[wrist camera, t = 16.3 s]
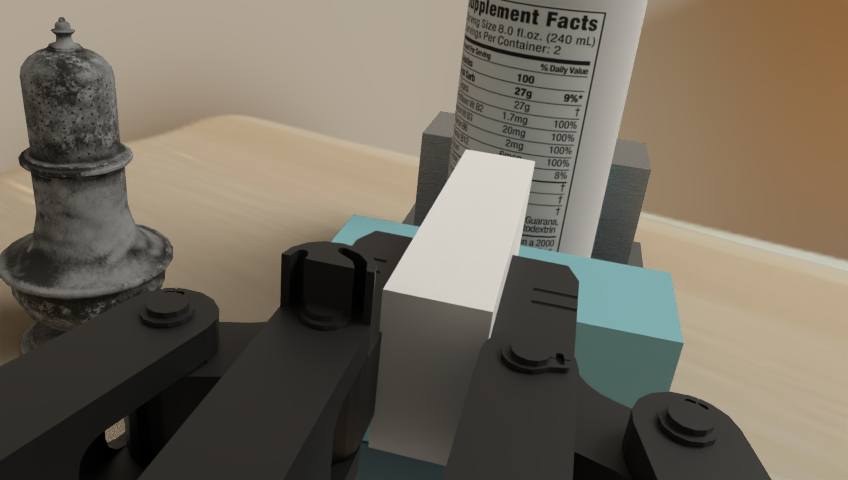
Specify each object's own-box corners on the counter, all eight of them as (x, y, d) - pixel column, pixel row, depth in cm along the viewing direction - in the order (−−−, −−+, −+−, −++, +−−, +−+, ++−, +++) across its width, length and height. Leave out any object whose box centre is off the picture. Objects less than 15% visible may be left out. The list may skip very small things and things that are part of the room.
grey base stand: (633, 268, 38) (665, 140, 35) (665, 644, 18) (745, 428, 15) (413, 227, 40) (425, 103, 37) (229, 529, 20) (223, 317, 17)
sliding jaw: (630, 417, 24) (670, 272, 22) (635, 504, 20) (683, 342, 18) (345, 355, 26) (353, 214, 23) (303, 426, 22) (308, 268, 20)
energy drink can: (605, 313, 30) (698, -74, 24) (516, 364, 26) (599, -85, 20) (495, 258, 34) (551, -90, 28) (403, 295, 30) (442, -102, 23)
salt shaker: (187, 297, 31) (173, 10, 26) (164, 381, 26) (141, 42, 21) (40, 296, 30) (-5, -4, 25) (-15, 383, 25) (-86, 26, 20)
